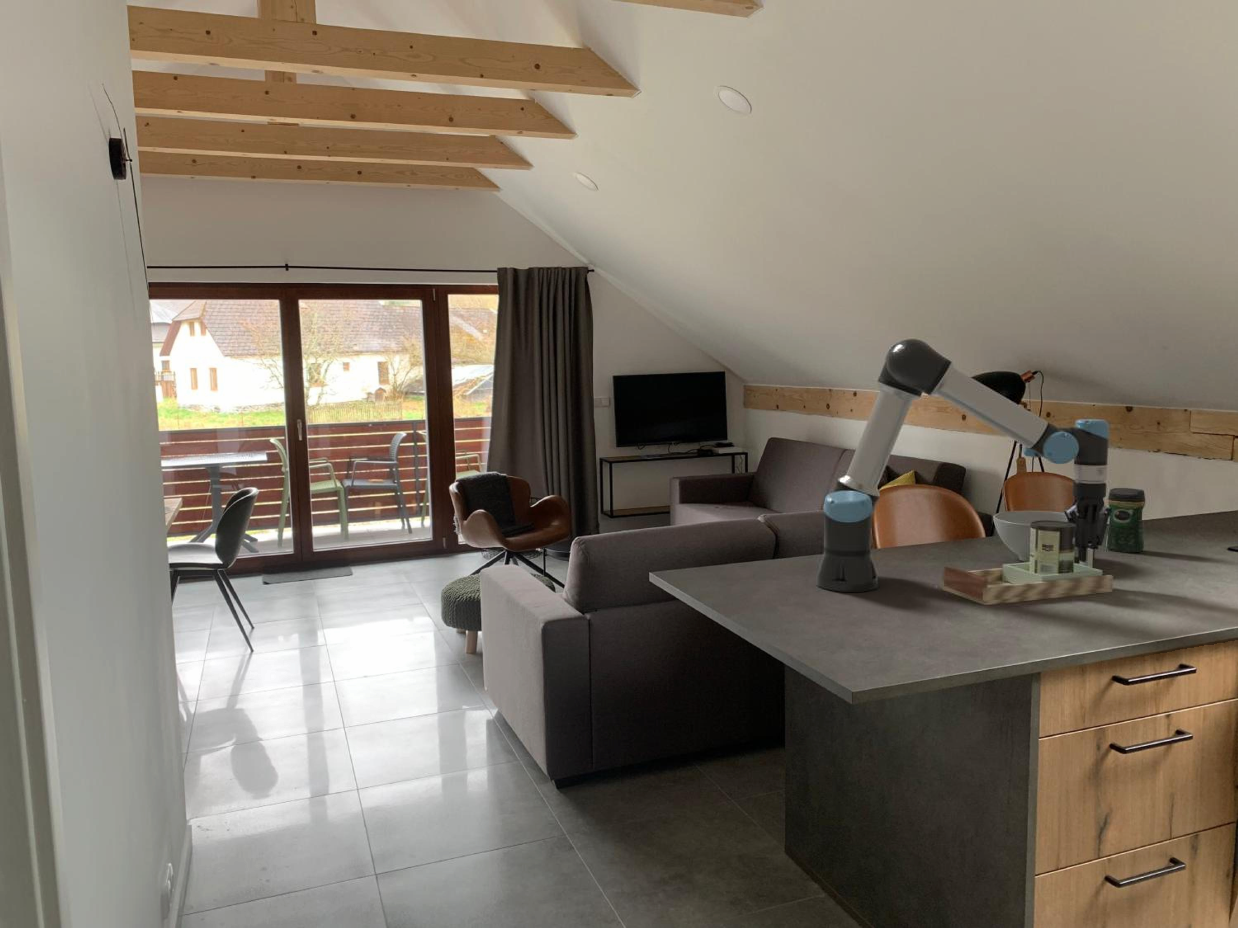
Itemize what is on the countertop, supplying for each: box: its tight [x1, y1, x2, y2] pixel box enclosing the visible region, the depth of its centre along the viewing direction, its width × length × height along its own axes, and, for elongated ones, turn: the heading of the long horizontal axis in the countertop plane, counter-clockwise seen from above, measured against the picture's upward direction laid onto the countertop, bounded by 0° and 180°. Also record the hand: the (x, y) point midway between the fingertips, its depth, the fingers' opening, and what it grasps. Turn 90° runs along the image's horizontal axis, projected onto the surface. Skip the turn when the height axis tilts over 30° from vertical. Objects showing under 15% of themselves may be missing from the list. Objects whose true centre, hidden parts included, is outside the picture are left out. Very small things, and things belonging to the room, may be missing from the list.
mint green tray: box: [1002, 562, 1103, 584], centre depth 230 cm, size 18×14×4 cm
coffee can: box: [1029, 520, 1076, 575], centre depth 230 cm, size 10×10×14 cm
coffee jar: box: [1105, 487, 1147, 553], centre depth 273 cm, size 10×8×19 cm
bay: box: [941, 565, 1114, 606], centre depth 228 cm, size 37×16×6 cm, turn 107°
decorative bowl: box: [992, 510, 1083, 563], centre depth 261 cm, size 27×27×12 cm
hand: (1085, 573), depth 234 cm, fingers closed
